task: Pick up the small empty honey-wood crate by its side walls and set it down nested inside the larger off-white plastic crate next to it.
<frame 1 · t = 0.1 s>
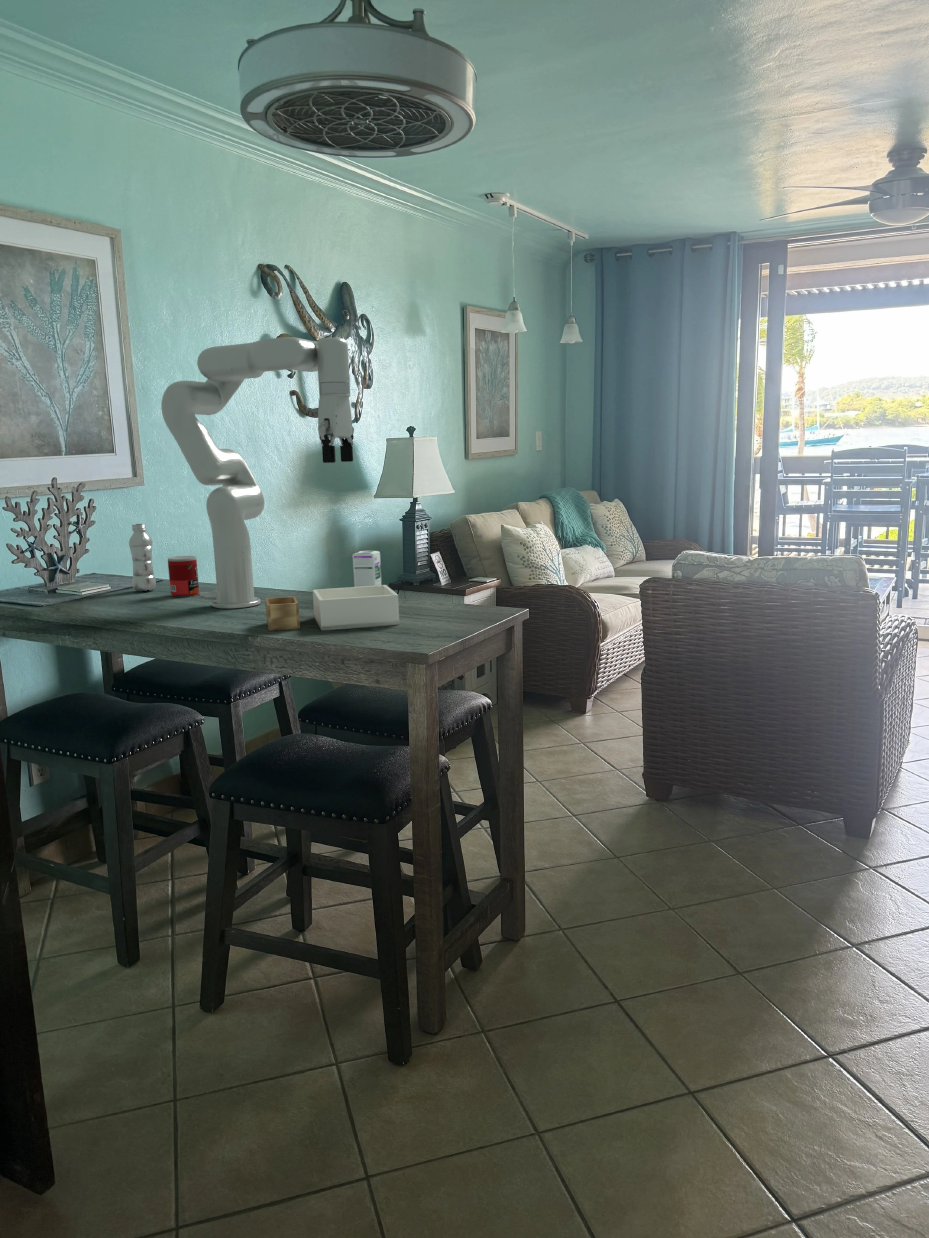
hand: (338, 462, 219), 37 cm above the table, tool pointing down, fingers open, 9 cm apart
plastic crate: (355, 621, 211), on the table
canned food: (185, 596, 256), on the table
syrup box: (369, 608, 229), on the table
wooden crate: (283, 625, 208), on the table
plastic bottle: (145, 591, 265), on the table
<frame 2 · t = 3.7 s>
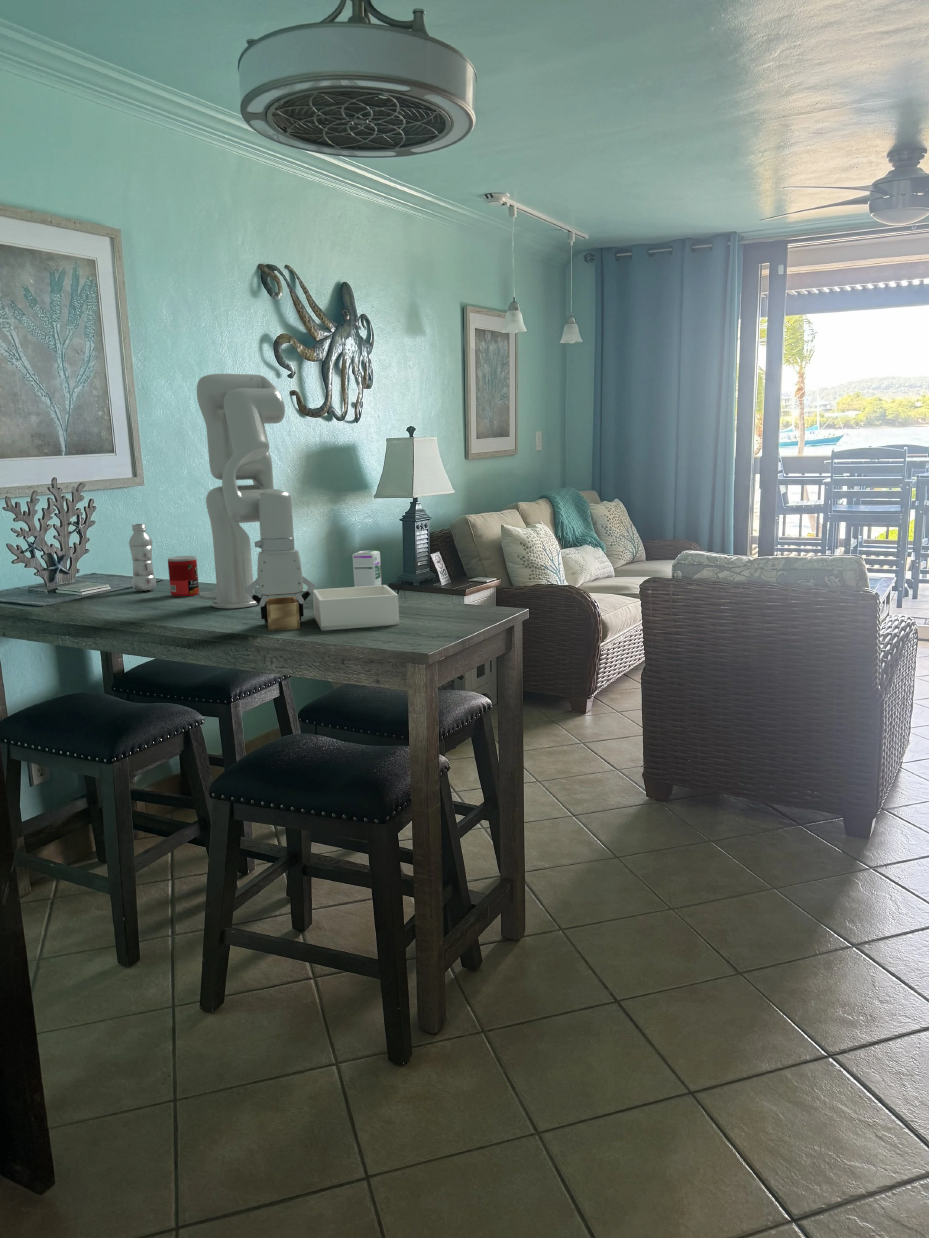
hand: (282, 620, 207), 1 cm above the table, tool pointing down, fingers closed on wooden crate, 7 cm apart
wooden crate: (283, 625, 208), on the table, touching gripper
everything else where it was.
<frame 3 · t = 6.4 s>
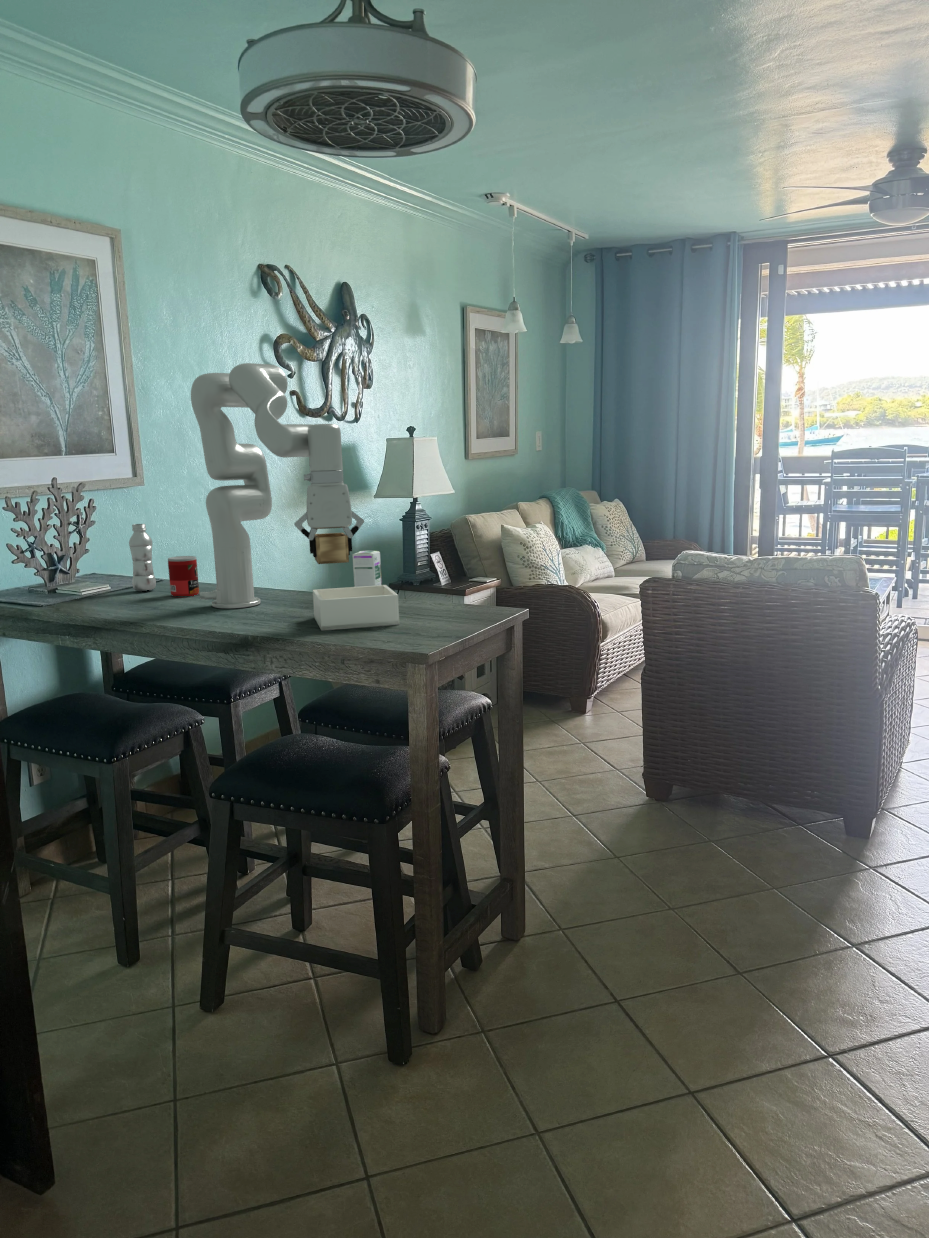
hand: (331, 555, 207), 16 cm above the table, tool pointing down, fingers closed on wooden crate, 7 cm apart
wooden crate: (331, 560, 207), point 15 cm above the table, touching gripper
everything else where it was.
when the fingers open (4 cm above the table, at t = 9.5 s): wooden crate drops 2 cm, resting on plastic crate.
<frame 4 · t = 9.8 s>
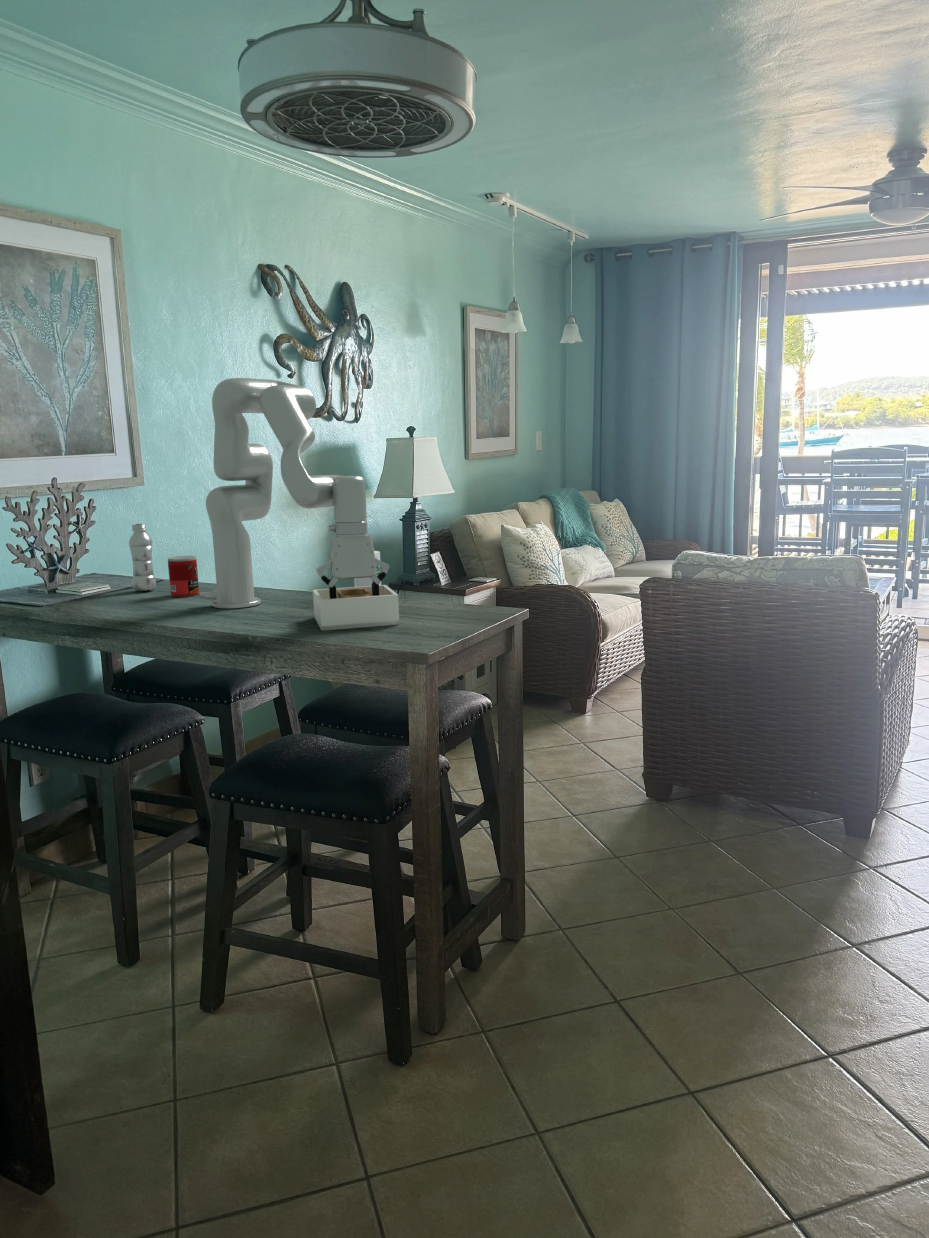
hand: (354, 601, 210), 5 cm above the table, tool pointing down, fingers open, 9 cm apart
wooden crate: (355, 617, 211), point 1 cm above the table, touching plastic crate
everything else where it was.
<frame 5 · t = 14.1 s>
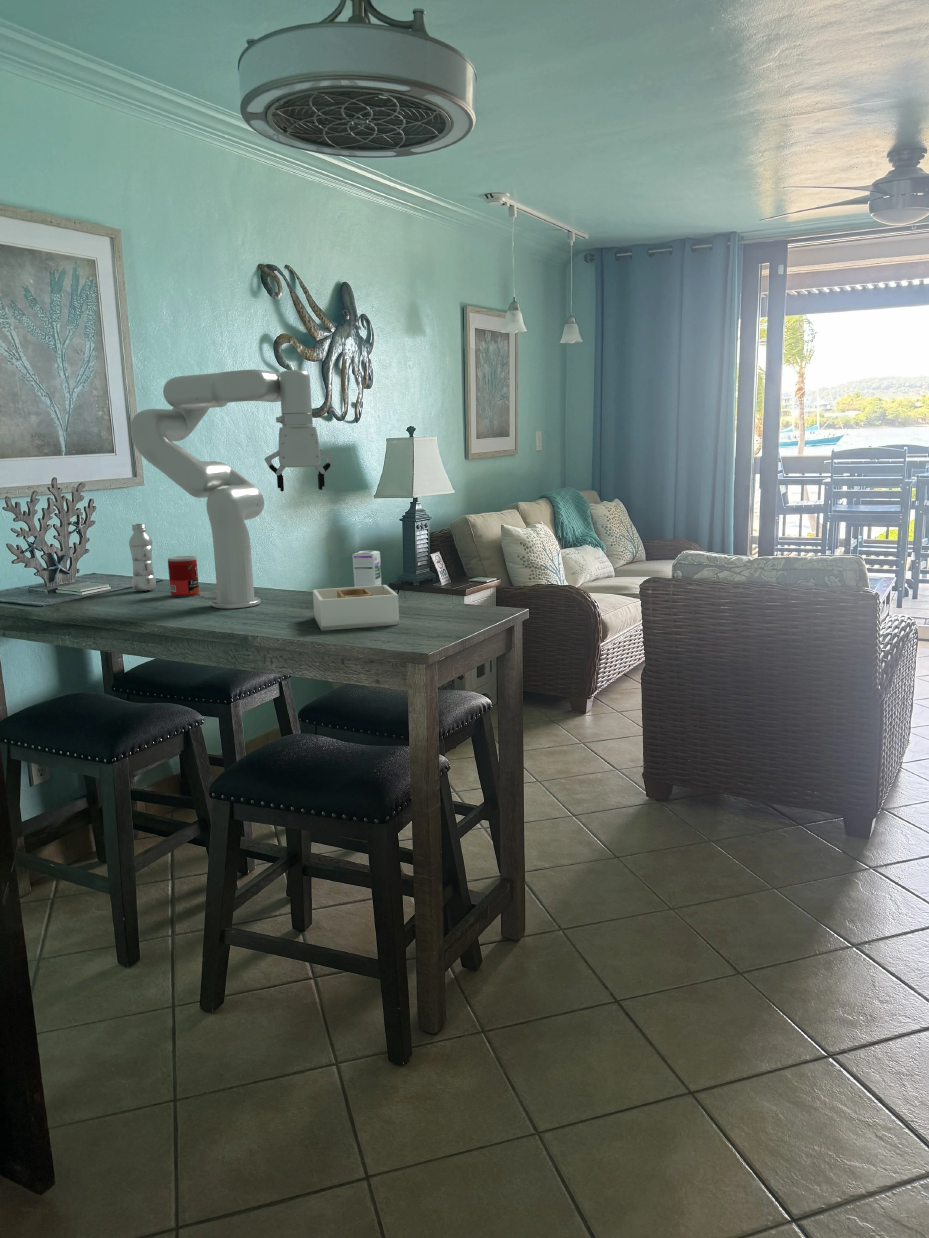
hand: (301, 490, 225), 30 cm above the table, tool pointing down, fingers open, 9 cm apart
nothing on the table moved.
at the end: wooden crate inside the target area on the plastic crate (0.0 cm from its centre), point 1.0 cm above the plastic crate's base; wooden crate tilted 0°; the gripper is holding nothing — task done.
